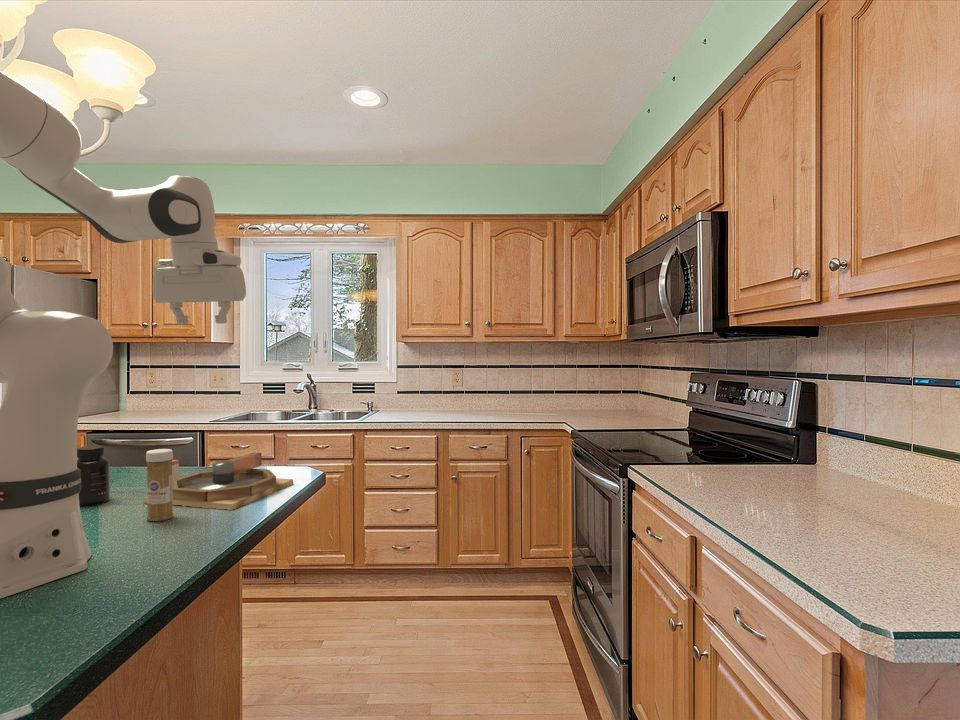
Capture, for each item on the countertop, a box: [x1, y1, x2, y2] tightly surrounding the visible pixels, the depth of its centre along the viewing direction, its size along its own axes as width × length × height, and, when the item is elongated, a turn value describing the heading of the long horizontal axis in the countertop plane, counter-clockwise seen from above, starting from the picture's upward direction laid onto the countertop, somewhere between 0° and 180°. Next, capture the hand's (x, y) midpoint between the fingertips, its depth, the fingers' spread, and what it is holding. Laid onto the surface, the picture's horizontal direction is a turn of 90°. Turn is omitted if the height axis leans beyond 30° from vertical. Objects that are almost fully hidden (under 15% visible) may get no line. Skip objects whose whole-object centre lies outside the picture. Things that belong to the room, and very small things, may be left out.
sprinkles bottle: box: [145, 448, 174, 522], centre depth 108 cm, size 5×5×14 cm
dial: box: [181, 452, 263, 490], centre depth 128 cm, size 21×17×6 cm
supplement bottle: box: [77, 445, 111, 507], centre depth 119 cm, size 7×7×12 cm
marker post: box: [172, 459, 180, 480], centre depth 130 cm, size 2×2×7 cm
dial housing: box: [143, 468, 294, 511], centre depth 127 cm, size 22×22×3 cm
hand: (201, 323), depth 117 cm, fingers open, 8 cm apart
